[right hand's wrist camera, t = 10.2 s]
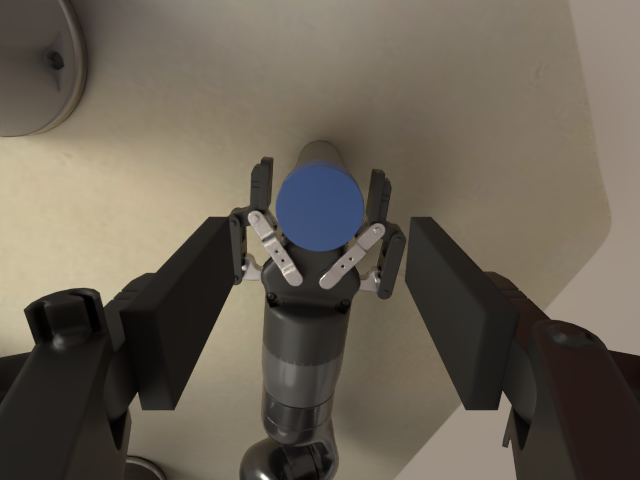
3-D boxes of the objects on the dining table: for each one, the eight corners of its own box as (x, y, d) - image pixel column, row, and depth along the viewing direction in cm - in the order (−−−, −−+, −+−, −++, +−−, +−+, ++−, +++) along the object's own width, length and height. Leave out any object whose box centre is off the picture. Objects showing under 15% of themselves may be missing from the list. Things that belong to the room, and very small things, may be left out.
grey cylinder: (333, 134, 33) (344, 161, 18) (346, 175, 34) (365, 230, 20) (292, 148, 33) (272, 185, 19) (307, 188, 35) (297, 251, 20)
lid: (346, 148, 20) (349, 153, 18) (369, 224, 21) (374, 237, 20) (267, 175, 20) (262, 183, 18) (295, 247, 22) (293, 261, 20)
